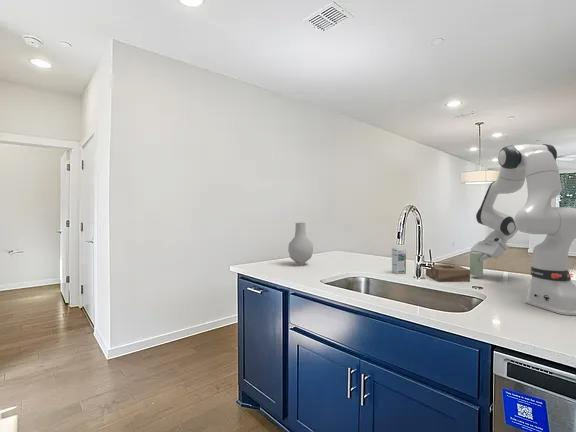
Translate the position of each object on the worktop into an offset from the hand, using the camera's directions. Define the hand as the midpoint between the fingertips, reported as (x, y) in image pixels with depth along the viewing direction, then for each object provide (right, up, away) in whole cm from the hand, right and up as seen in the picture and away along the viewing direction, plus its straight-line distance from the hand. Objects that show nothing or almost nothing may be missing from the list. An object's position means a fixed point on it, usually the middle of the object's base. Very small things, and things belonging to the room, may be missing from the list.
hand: (476, 260), depth 178 cm
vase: (-94, -9, +43) cm, 103 cm away
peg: (0, -8, 0) cm, 8 cm away
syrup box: (-37, -9, +15) cm, 41 cm away
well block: (-16, -10, 0) cm, 19 cm away
